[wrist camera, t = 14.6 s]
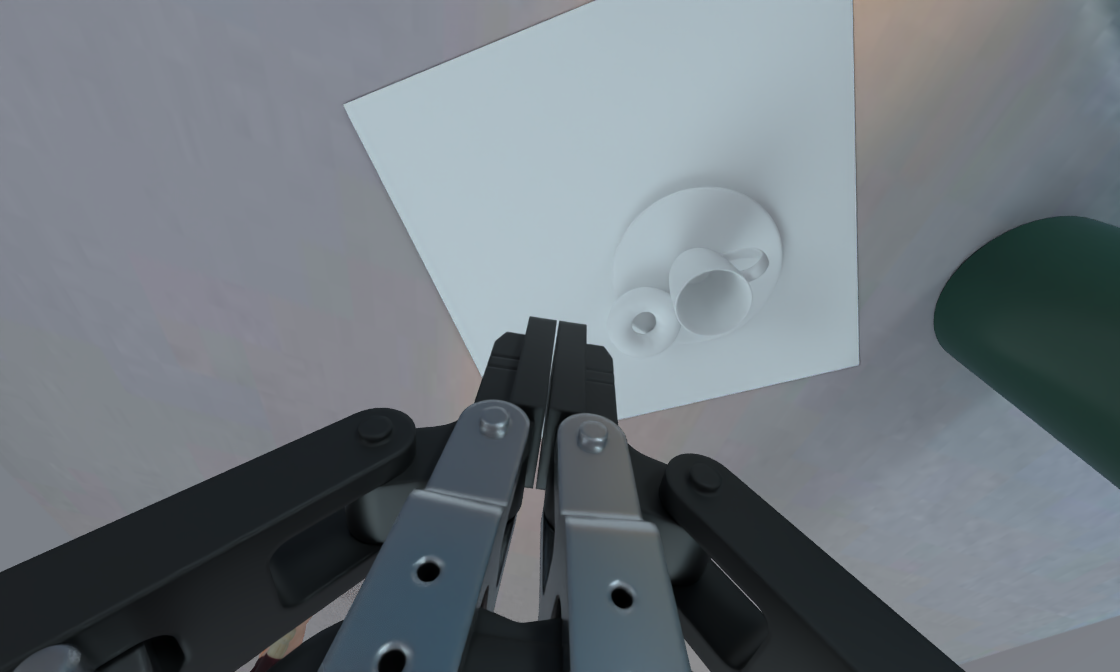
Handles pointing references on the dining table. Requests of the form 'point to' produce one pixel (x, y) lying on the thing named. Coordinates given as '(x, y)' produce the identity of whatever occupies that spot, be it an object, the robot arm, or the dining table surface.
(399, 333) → the dining table surface
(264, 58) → the dining table surface
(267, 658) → the grandmother figurine
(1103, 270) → the tea tin
